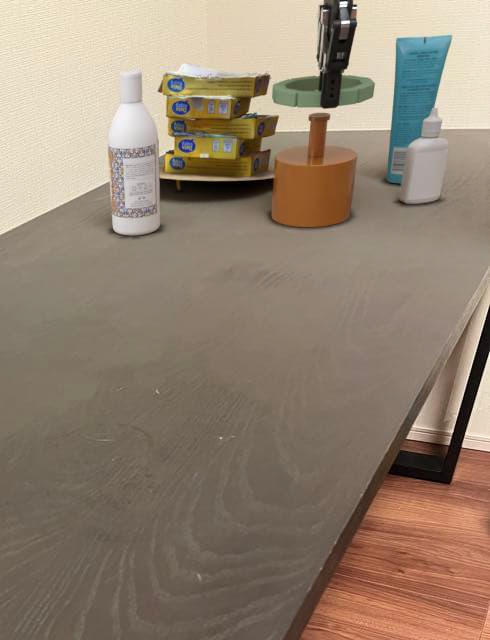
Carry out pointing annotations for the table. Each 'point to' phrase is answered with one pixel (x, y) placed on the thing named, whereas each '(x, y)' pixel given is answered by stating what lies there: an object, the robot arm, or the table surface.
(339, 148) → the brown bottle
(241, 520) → the table surface
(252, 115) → the stacked yellow boxes
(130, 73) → the bath foam
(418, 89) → the tube
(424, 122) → the eye dropper bottle
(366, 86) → the rubber ring
